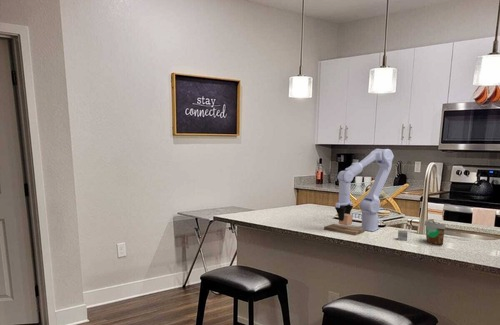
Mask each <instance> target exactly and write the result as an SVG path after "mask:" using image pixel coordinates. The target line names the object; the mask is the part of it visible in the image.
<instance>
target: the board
mask: <svg viewBox="0 0 500 325" xmlns="http://www.w3.org/2000/svg"><path fill="white" fill-rule="evenodd" d="M323 230H325V231H330V232H336V233H341V234H346V235H352V236H358V235H360V234H363V233H365V230H364V229H360V227H353V226H350V225H342V224H336V223H331V224H329V225H325V226H324V227H323Z"/></svg>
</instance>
